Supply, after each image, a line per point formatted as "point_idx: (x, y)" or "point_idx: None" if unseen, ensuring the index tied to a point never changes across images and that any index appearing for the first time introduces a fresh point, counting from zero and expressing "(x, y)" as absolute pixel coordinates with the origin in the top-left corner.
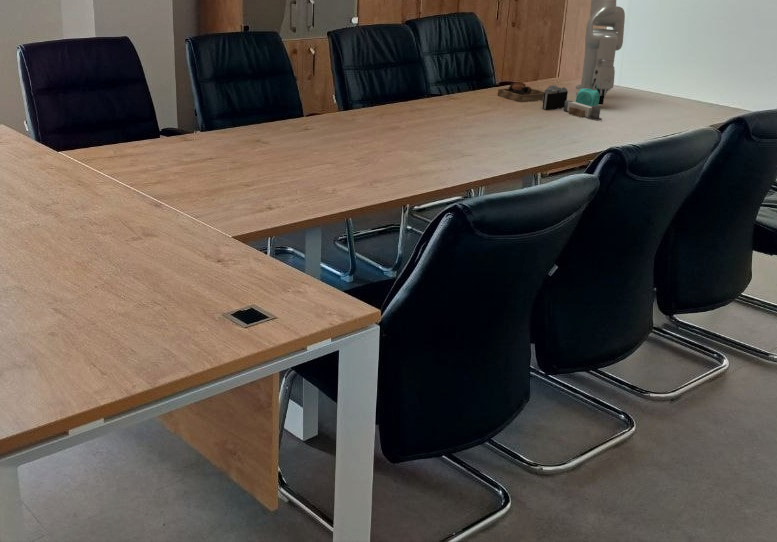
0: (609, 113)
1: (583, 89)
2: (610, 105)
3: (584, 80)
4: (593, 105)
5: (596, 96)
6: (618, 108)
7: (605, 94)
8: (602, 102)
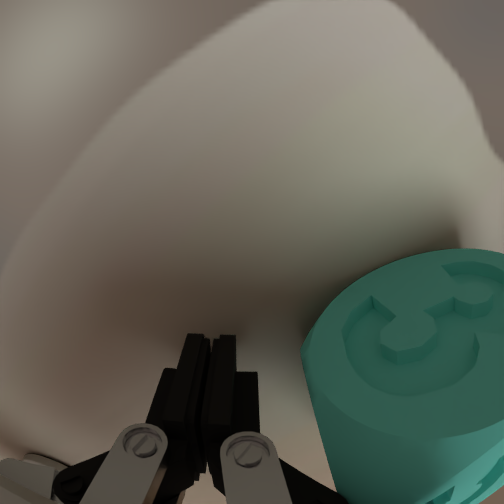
0: (391, 32)
1: (483, 496)
2: (52, 338)
3: None
4: (463, 258)
5: (484, 346)
6: (48, 204)
7: (123, 433)
8: (199, 348)
